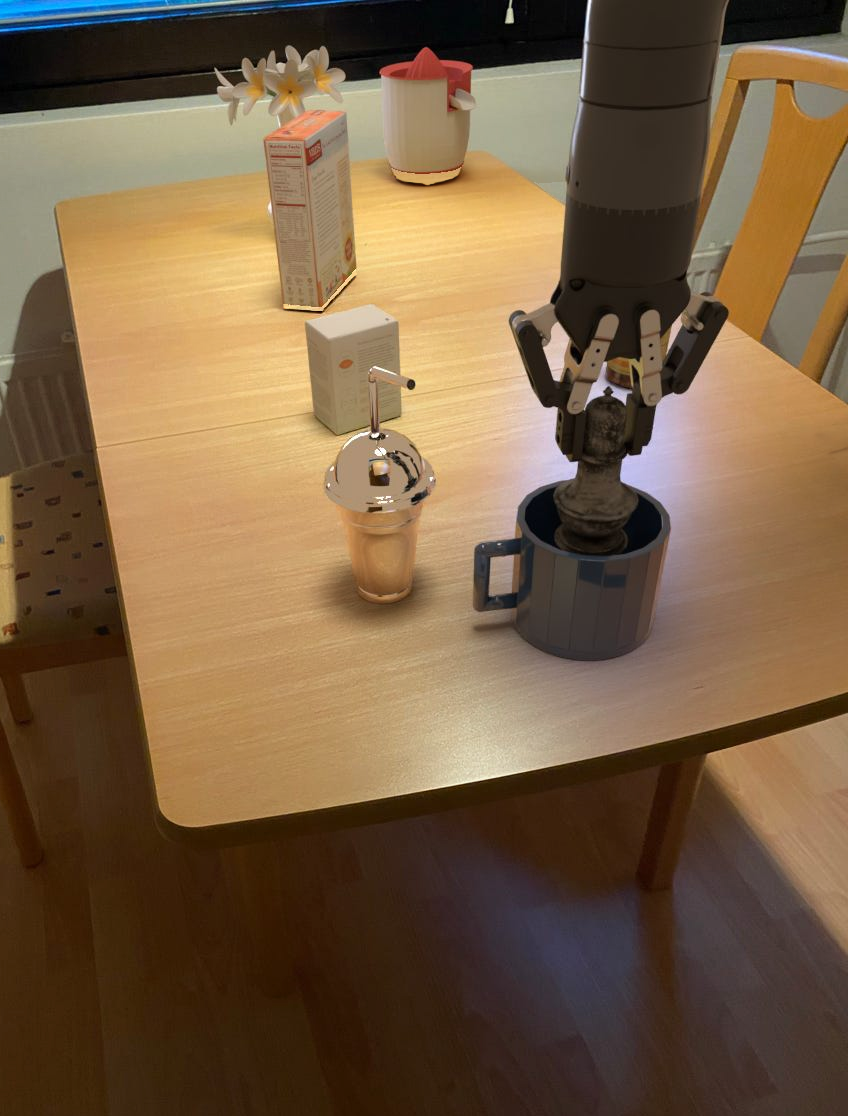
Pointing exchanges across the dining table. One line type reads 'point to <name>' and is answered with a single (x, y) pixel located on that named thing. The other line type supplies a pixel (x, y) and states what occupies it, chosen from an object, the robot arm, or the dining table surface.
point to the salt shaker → (597, 485)
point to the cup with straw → (380, 500)
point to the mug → (577, 581)
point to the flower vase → (282, 86)
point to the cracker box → (311, 205)
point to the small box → (352, 366)
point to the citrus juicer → (426, 113)
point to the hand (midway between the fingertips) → (601, 452)
